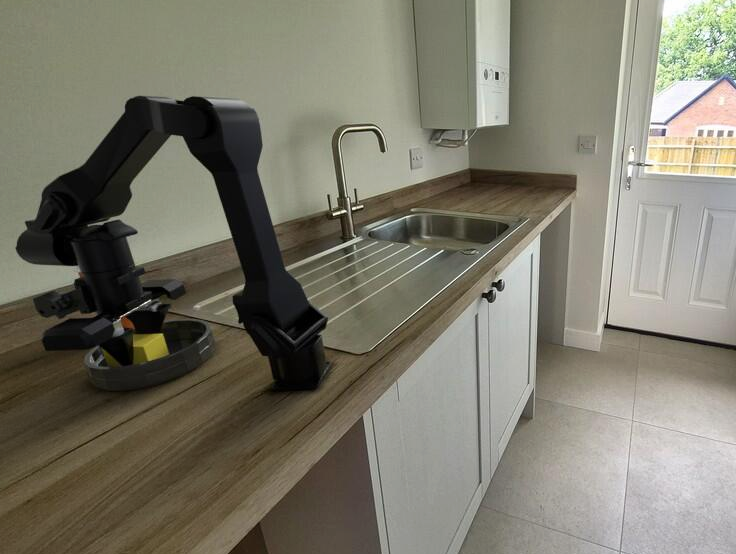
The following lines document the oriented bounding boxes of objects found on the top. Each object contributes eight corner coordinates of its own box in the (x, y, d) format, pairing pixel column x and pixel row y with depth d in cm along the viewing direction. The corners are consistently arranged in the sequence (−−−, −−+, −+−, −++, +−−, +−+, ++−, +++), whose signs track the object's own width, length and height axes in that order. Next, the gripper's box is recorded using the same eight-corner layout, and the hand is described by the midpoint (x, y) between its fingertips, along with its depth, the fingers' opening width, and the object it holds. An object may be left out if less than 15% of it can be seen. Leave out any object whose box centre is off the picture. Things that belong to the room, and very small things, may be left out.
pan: (234, 337, 73) (229, 317, 72) (175, 390, 59) (167, 366, 58) (145, 340, 72) (139, 320, 71) (63, 395, 58) (52, 371, 57)
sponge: (169, 355, 67) (162, 333, 65) (150, 369, 63) (143, 346, 62) (130, 356, 66) (123, 334, 65) (109, 370, 63) (101, 348, 61)
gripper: (105, 248, 68) (133, 332, 73) (-28, 294, 50) (21, 400, 55) (175, 247, 69) (198, 329, 73) (69, 291, 51) (109, 396, 56)
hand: (139, 359), depth 64 cm, fingers closed on sponge, 4 cm apart
